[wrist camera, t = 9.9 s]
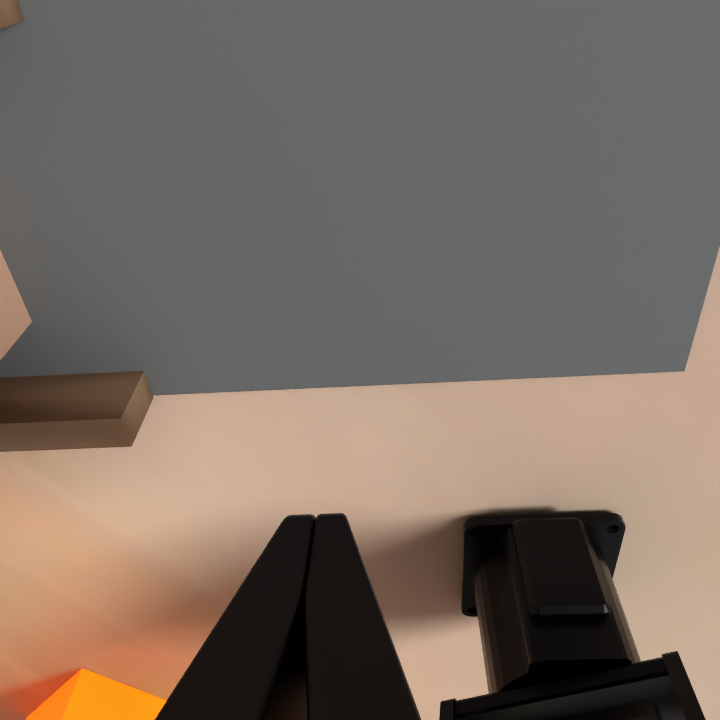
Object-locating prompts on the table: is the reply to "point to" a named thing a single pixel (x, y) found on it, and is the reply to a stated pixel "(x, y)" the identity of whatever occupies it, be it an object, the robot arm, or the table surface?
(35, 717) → the orange juice
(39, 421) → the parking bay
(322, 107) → the runner mat
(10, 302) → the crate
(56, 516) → the table surface
